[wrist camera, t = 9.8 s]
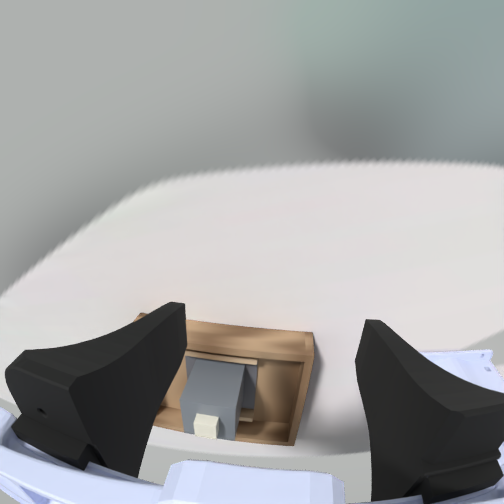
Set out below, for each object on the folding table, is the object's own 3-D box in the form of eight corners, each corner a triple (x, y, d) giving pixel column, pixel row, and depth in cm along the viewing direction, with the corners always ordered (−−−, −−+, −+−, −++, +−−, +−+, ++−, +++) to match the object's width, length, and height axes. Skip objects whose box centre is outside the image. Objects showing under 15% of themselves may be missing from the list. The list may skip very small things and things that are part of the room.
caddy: (312, 332, 24) (314, 355, 21) (294, 422, 27) (293, 446, 25) (140, 312, 25) (125, 331, 22) (155, 403, 29) (146, 423, 26)
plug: (245, 364, 25) (233, 418, 19) (243, 398, 26) (232, 450, 20) (196, 358, 25) (175, 409, 19) (199, 391, 26) (181, 441, 21)
